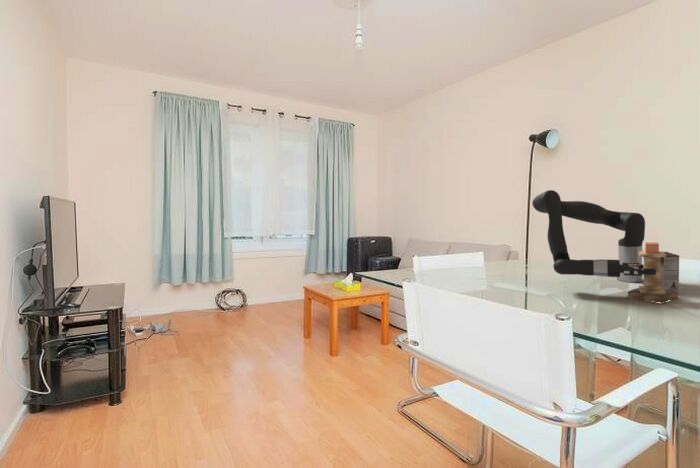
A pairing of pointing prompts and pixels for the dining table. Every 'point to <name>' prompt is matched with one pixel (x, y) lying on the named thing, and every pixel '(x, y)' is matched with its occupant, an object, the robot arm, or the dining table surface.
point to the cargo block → (651, 248)
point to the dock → (653, 295)
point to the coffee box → (669, 271)
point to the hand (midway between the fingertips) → (654, 269)
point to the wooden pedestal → (652, 281)
